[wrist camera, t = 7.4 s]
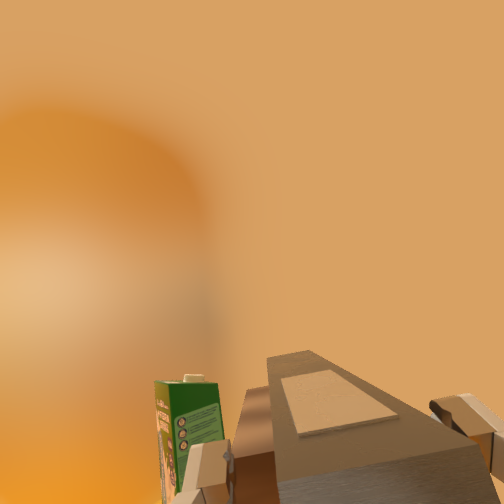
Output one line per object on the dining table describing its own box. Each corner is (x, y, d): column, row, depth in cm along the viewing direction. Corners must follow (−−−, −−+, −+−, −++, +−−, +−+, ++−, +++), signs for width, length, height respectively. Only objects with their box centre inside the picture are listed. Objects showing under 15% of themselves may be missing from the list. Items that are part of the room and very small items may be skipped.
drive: (547, 629, 5) (476, 438, 6) (309, 677, 5) (275, 477, 6) (315, 381, 26) (308, 349, 27) (272, 389, 26) (266, 356, 27)
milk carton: (237, 536, 41) (216, 369, 48) (183, 576, 36) (168, 383, 43) (213, 511, 48) (197, 368, 55) (164, 542, 43) (153, 380, 50)
